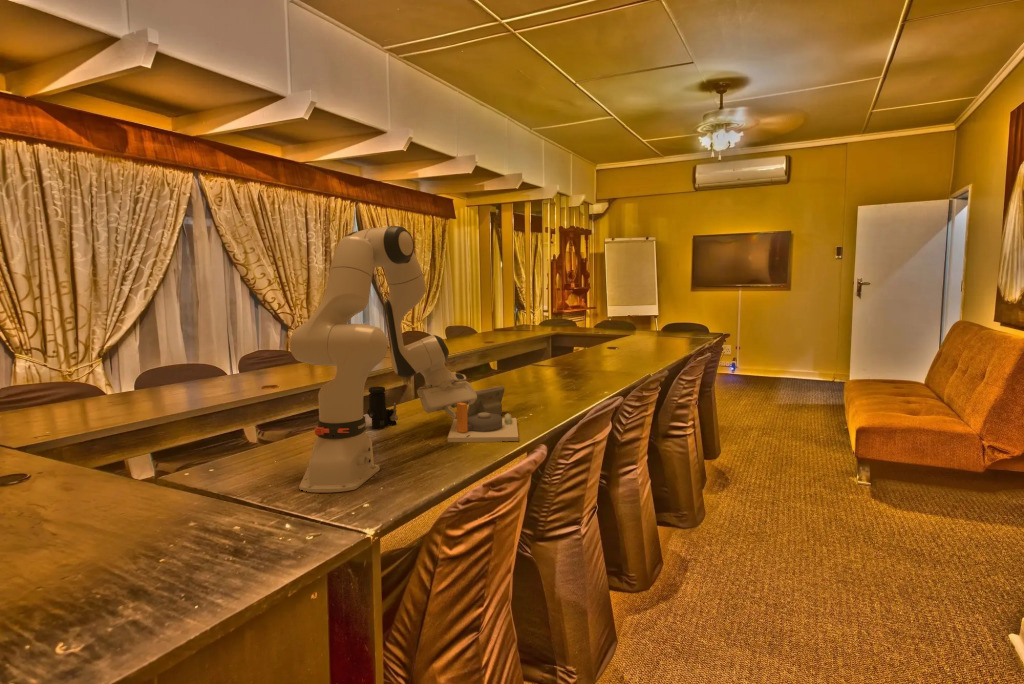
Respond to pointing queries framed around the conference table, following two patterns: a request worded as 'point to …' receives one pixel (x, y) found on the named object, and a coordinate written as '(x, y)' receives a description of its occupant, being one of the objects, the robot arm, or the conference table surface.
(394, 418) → the scope
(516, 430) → the base
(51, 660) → the conference table surface
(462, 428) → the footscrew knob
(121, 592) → the conference table surface
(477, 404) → the digital clock
